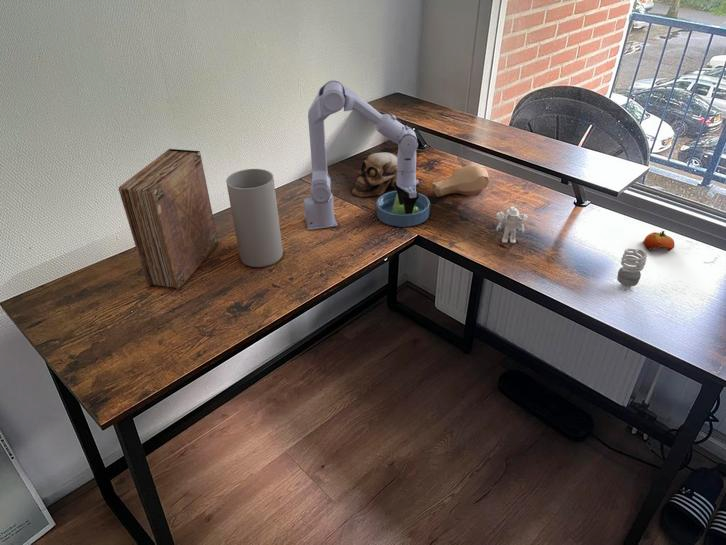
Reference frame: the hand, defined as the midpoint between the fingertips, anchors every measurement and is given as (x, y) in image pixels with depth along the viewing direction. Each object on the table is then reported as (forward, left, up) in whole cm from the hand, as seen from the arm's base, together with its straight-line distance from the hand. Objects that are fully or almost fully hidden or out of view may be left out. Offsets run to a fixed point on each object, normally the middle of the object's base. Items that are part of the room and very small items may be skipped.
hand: (405, 208), depth 177 cm
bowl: (0, +3, -4) cm, 5 cm away
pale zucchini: (0, +7, -2) cm, 7 cm away
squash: (+24, +13, -4) cm, 28 cm away
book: (-69, -8, -4) cm, 70 cm away
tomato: (+66, -36, -4) cm, 75 cm away
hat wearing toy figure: (+26, -21, -4) cm, 34 cm away
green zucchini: (0, 0, -3) cm, 3 cm away
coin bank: (-3, +24, -4) cm, 25 cm away
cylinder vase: (-47, -10, -4) cm, 48 cm away
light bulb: (+45, -51, -4) cm, 68 cm away
